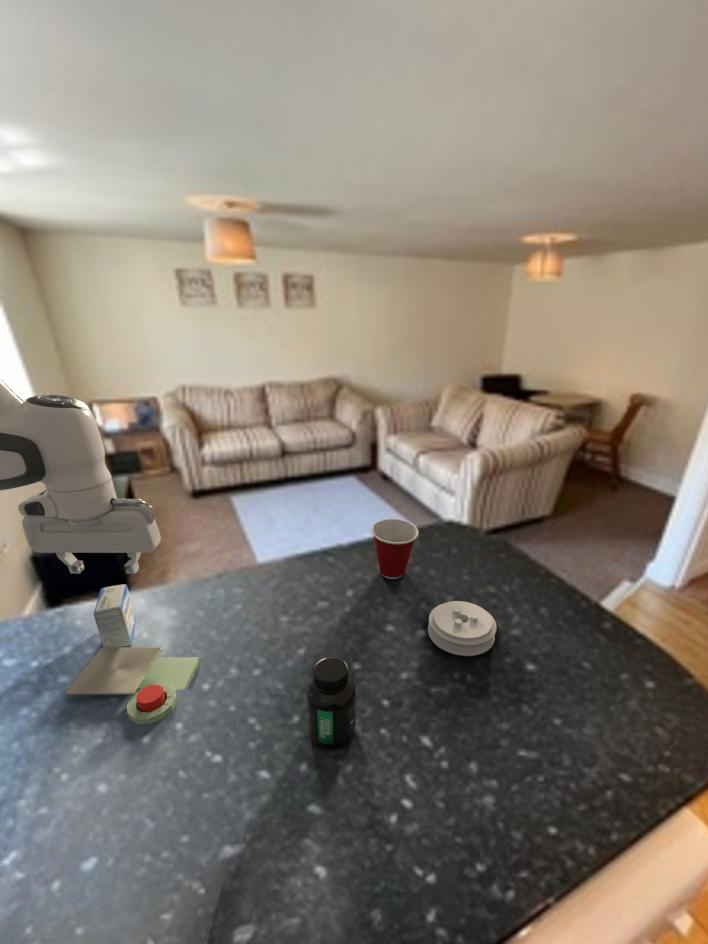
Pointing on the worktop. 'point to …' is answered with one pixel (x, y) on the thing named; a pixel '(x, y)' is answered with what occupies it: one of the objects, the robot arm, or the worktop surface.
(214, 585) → the worktop surface
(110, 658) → the plate
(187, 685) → the green flat piece
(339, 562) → the worktop surface
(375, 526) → the plastic cup
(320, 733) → the supplement bottle
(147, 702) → the button
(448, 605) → the lid
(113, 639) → the medicine box
